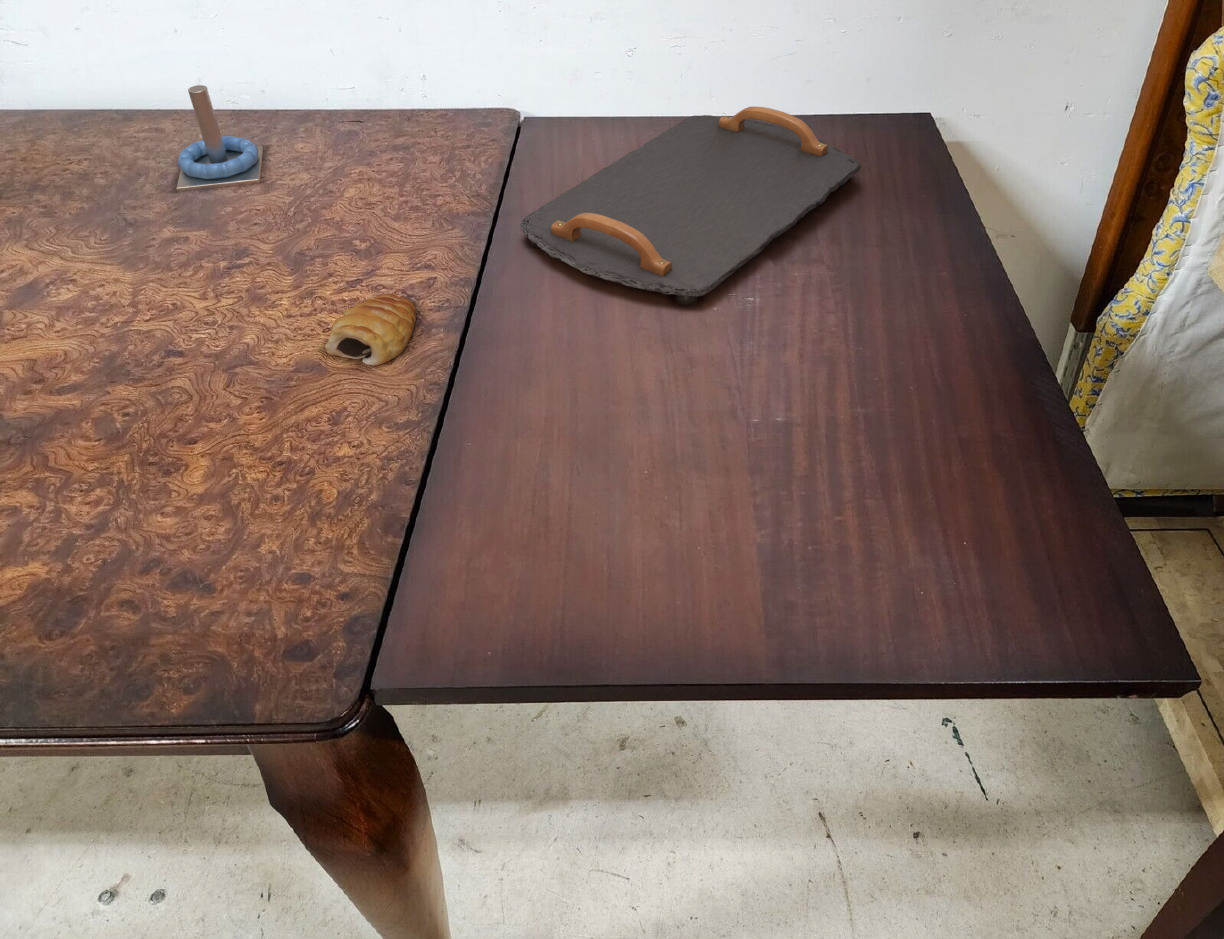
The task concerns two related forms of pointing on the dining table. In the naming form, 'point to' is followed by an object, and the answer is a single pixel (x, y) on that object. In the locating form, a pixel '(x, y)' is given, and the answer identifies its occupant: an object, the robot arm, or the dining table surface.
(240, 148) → the ring
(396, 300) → the pastry
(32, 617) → the dining table surface
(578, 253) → the serving tray
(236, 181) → the peg on square base
